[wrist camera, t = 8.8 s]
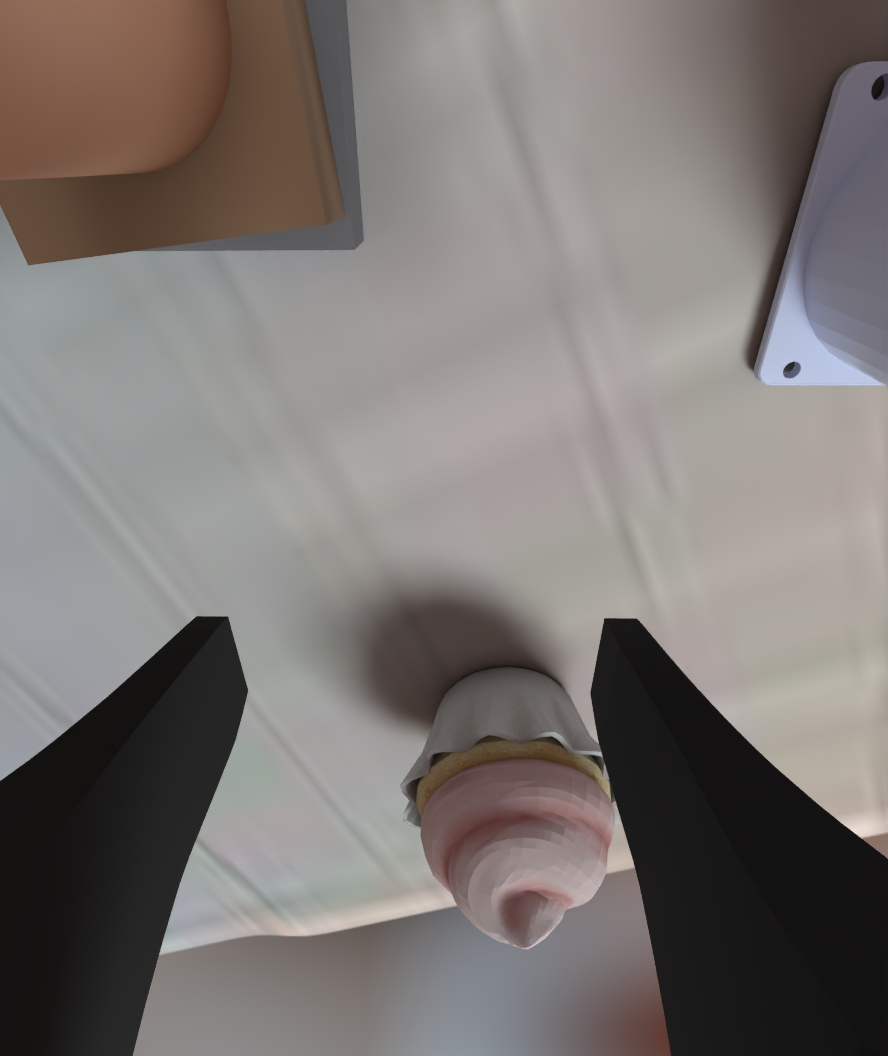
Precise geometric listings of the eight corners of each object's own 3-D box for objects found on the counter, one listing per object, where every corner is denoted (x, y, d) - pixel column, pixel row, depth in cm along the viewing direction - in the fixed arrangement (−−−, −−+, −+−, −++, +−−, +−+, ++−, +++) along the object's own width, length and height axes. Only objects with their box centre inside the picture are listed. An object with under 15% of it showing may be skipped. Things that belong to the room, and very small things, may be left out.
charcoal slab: (338, -158, 13) (316, -217, 11) (366, 237, 17) (354, 249, 15) (-13, -152, 13) (-102, -209, 11) (102, 239, 18) (54, 251, 15)
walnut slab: (267, -198, 11) (223, -280, 9) (345, 214, 15) (326, 225, 13) (-70, -131, 12) (-185, -193, 10) (87, 249, 15) (28, 265, 13)
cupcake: (638, 660, 26) (726, 906, 17) (561, 782, 31) (601, 1020, 22) (434, 617, 25) (421, 857, 16) (388, 751, 30) (361, 989, 21)
